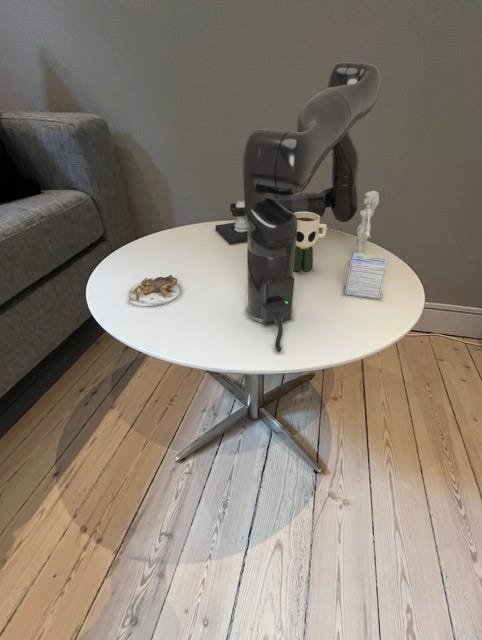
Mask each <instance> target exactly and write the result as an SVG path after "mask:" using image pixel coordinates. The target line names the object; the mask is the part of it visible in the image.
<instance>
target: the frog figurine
mask: <svg viewBox="0 0 482 640" xmlns="http://www.w3.org/2000/svg"><path fill="white" fill-rule="evenodd" d="M178 282H179V281H178V278H177V277H174V276H173V275H172V274H169V275H168V276H165V277H163V276H158V277H156V278H153V277H151V278H147V277H145V278H144V279H143V280H142V281H141V282H140V283H139V284H137V285H135V286H133V287H131V288H130V290H129V293H130V296H129V301H128V302H129V304H132V305H134V306H138V307H154V306H162V305H166V304H168V303H170V302H172V301H173V300H175V299H176V298H178V296H180V295H181V294H180V293H181V291H182V290H180V287H179V285H178Z"/></svg>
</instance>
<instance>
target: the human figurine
mask: <svg viewBox="0 0 482 640" xmlns="http://www.w3.org/2000/svg"><path fill="white" fill-rule="evenodd" d="M379 202H380V195H379V191H376V190H371V191H367V192H365V197H364V198H363V205H365V208H364V209H362V210H361V211H360V212H359V215H360V217H361V218H360V224H358V226H357V228H356V242H355V245H357V248H356V253H364V248H363V245H364V246H365V245H366V243H367V241H368V240H369V238H371V230H372V226H371V218H372V217H373V216H374V213H375V211H376V208H377V206H378V204H380V203H379ZM350 263H351V261H350V262H349V264H350Z"/></svg>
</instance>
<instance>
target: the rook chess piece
mask: <svg viewBox="0 0 482 640" xmlns="http://www.w3.org/2000/svg"><path fill="white" fill-rule="evenodd" d="M236 203H237V204H236V207H237V208H239V207H245V202H244V200H242V201H241V200H238V201H236ZM235 222H236V223H235ZM235 222H234V223H235V228H234V230H235V231H236V233H243V232H247V221H246V217H245V216H237V217H236V220H235Z"/></svg>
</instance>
